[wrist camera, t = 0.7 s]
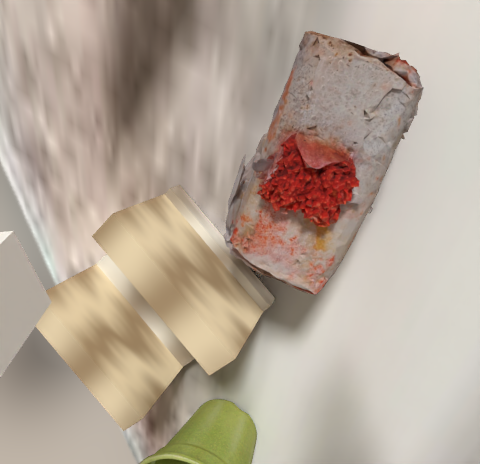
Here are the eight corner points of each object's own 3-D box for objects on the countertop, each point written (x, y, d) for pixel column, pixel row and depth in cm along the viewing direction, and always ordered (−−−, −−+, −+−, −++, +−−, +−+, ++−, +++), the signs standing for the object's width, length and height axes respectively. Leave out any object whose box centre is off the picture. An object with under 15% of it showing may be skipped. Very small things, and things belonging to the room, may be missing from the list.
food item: (340, 265, 29) (322, 332, 20) (244, 223, 31) (188, 268, 22) (428, 77, 24) (457, 55, 15) (307, 39, 26) (268, -1, 17)
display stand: (275, 298, 32) (243, 353, 24) (168, 372, 38) (118, 434, 30) (179, 184, 32) (119, 206, 24) (88, 277, 38) (18, 316, 30)
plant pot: (169, 384, 38) (114, 455, 30) (258, 379, 34) (221, 457, 26) (199, 464, 40) (154, 551, 32) (286, 467, 36) (260, 566, 28)
